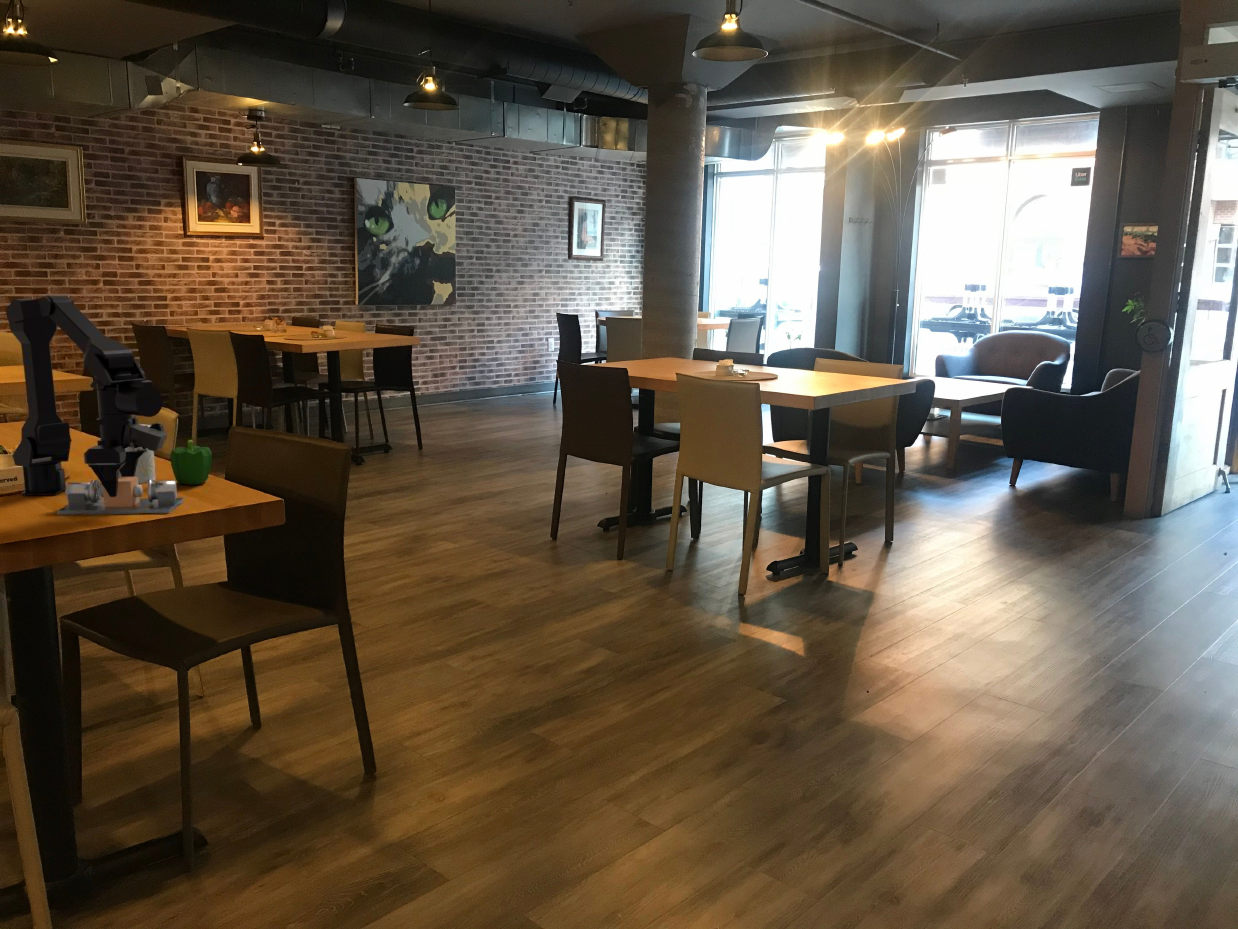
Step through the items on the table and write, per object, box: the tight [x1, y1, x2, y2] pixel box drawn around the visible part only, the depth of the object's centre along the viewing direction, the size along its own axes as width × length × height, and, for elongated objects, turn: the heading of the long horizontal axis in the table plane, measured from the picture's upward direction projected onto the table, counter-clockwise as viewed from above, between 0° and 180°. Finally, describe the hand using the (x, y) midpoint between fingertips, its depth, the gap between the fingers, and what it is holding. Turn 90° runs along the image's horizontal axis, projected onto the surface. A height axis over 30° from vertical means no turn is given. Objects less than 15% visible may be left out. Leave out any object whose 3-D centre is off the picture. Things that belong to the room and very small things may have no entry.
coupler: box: [100, 477, 144, 507], centre depth 190 cm, size 7×4×5 cm, turn 99°
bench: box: [56, 479, 185, 516], centre depth 190 cm, size 20×10×6 cm, turn 99°
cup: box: [119, 423, 156, 484], centre depth 214 cm, size 8×8×12 cm
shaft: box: [146, 479, 178, 506], centre depth 191 cm, size 5×5×5 cm
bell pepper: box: [169, 439, 213, 486], centre depth 213 cm, size 8×8×10 cm
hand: (121, 491), depth 190 cm, fingers open, 9 cm apart
